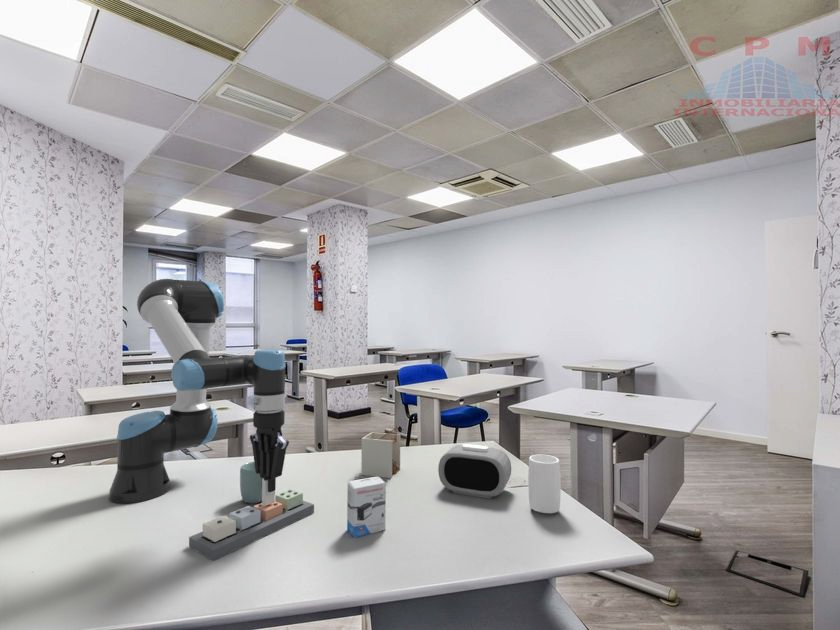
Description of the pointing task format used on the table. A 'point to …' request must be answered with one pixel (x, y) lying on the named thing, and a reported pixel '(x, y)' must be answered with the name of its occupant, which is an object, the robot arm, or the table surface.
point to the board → (248, 533)
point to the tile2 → (246, 517)
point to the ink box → (366, 506)
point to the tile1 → (219, 528)
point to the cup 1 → (250, 483)
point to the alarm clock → (475, 470)
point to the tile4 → (289, 498)
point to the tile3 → (270, 510)
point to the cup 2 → (544, 483)
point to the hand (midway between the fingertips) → (268, 503)
